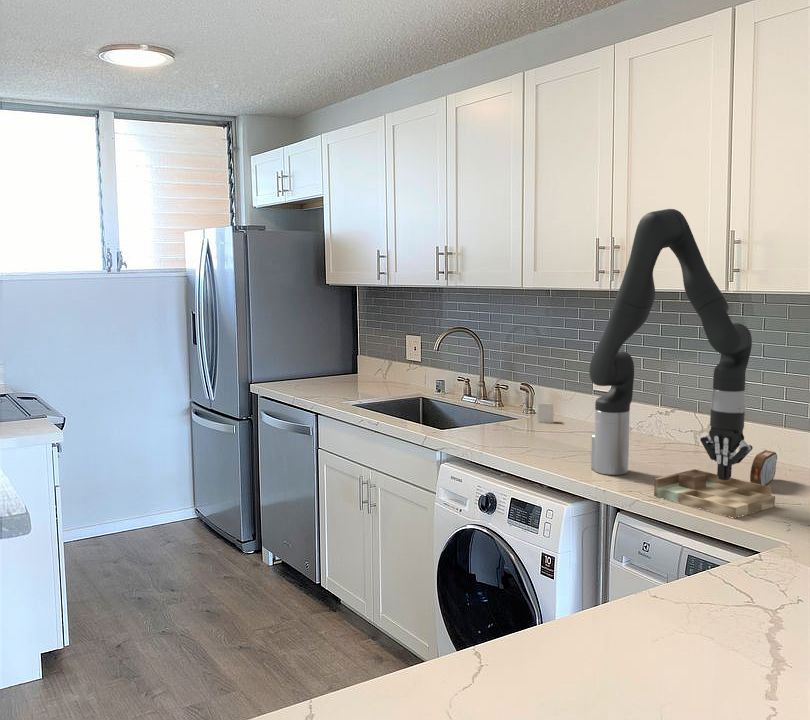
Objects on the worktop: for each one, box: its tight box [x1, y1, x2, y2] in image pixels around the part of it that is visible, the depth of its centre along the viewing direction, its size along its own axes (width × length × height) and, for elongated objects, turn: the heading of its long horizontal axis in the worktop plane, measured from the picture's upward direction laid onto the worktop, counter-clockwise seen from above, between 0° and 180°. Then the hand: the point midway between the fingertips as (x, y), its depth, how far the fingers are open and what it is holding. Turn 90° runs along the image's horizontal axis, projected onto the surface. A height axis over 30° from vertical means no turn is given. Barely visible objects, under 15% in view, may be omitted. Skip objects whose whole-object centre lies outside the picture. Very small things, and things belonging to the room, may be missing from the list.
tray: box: [653, 468, 776, 519], centre depth 196 cm, size 22×16×4 cm
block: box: [679, 470, 706, 490], centre depth 201 cm, size 4×4×3 cm
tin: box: [749, 449, 778, 486], centre depth 212 cm, size 15×3×8 cm, turn 141°
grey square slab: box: [536, 402, 559, 424], centre depth 297 cm, size 3×7×7 cm, turn 72°
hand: (724, 479), depth 195 cm, fingers closed
